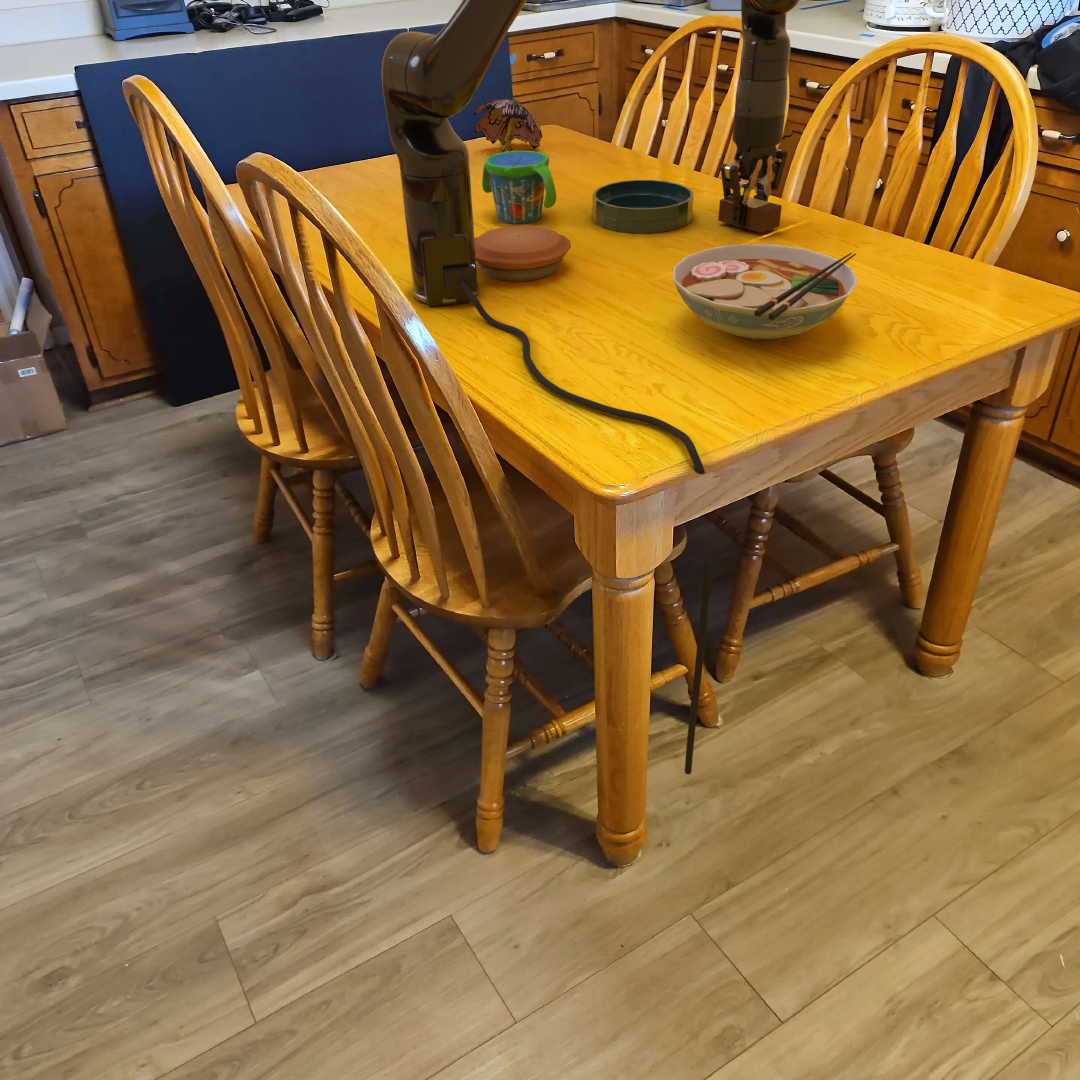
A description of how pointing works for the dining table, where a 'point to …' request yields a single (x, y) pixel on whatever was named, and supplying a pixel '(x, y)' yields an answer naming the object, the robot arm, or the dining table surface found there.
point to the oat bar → (753, 214)
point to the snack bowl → (642, 206)
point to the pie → (520, 252)
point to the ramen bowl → (763, 288)
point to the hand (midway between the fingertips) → (748, 222)
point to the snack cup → (519, 185)
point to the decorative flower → (508, 123)
